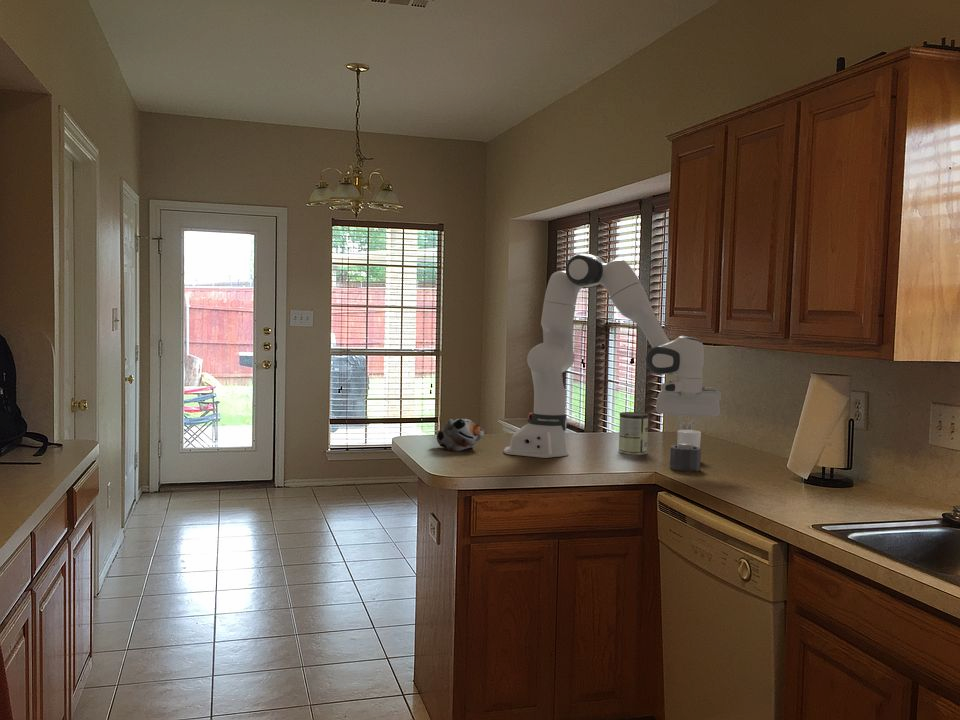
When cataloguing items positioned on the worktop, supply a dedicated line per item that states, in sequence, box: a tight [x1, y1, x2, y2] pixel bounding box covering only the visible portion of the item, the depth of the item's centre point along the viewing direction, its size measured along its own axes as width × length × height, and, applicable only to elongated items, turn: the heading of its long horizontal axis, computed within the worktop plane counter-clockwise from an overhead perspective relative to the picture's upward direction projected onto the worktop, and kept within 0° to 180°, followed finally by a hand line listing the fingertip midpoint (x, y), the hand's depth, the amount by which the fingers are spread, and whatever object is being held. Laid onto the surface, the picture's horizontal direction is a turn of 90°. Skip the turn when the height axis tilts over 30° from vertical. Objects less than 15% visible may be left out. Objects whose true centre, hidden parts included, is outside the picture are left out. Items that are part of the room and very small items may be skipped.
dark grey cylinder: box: [669, 444, 702, 472], centre depth 273 cm, size 9×9×7 cm
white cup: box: [677, 429, 702, 448], centre depth 290 cm, size 8×8×10 cm
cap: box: [676, 442, 693, 449], centre depth 272 cm, size 5×5×4 cm
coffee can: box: [618, 411, 650, 456], centre depth 302 cm, size 10×10×14 cm
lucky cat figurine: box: [436, 418, 485, 452], centre depth 296 cm, size 15×12×14 cm
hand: (686, 428), depth 272 cm, fingers closed
